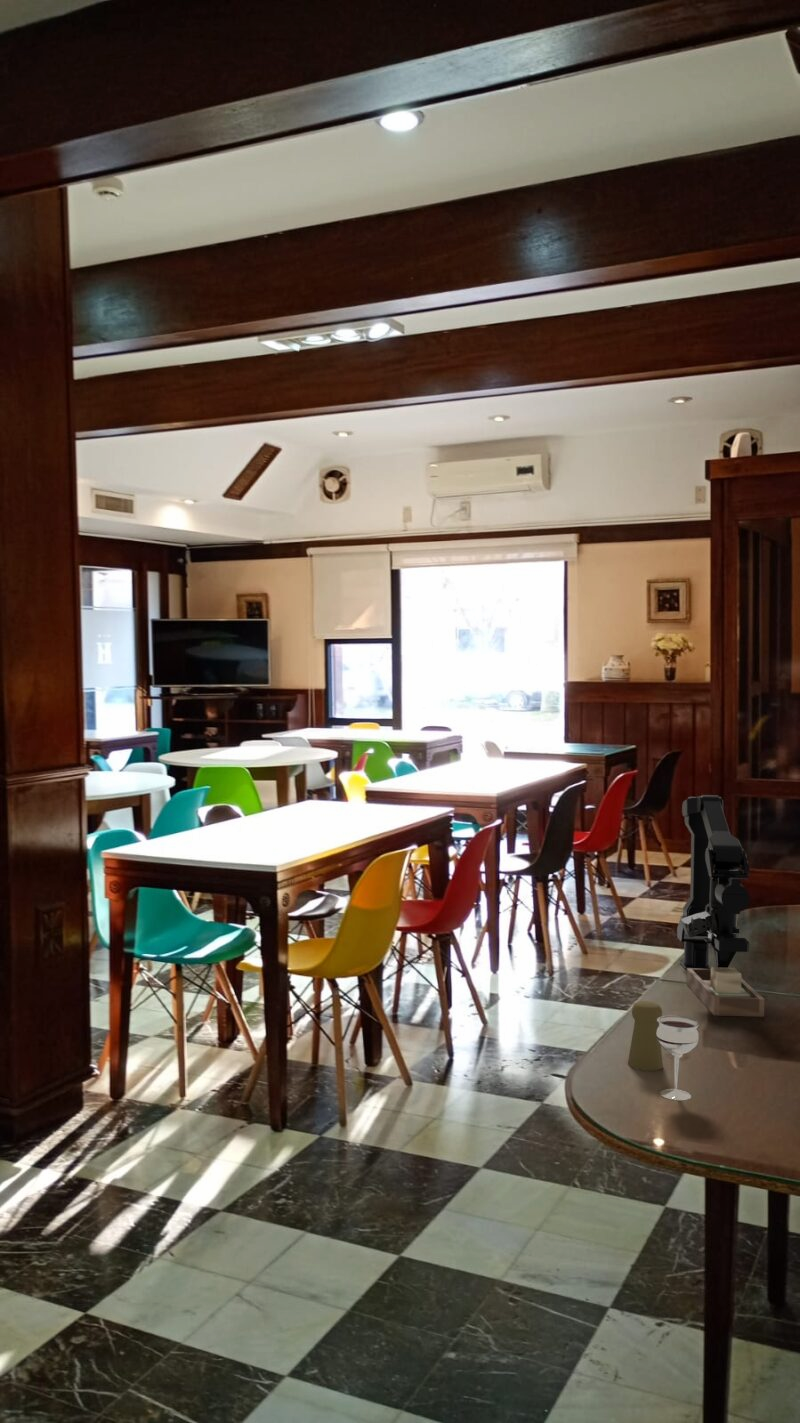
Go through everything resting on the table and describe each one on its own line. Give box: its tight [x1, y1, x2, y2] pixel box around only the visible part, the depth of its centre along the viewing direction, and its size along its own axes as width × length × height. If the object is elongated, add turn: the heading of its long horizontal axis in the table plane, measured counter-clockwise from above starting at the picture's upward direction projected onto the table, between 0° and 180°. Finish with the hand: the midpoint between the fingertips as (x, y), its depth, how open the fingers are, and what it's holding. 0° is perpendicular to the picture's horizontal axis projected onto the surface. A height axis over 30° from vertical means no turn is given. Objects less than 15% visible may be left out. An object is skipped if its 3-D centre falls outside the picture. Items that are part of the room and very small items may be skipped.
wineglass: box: [656, 1015, 700, 1101], centre depth 188 cm, size 7×7×12 cm
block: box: [710, 966, 743, 993], centre depth 242 cm, size 5×5×4 cm
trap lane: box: [685, 968, 765, 1017], centre depth 243 cm, size 23×10×4 cm, turn 0°
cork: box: [627, 1000, 664, 1072], centre depth 202 cm, size 6×6×11 cm
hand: (720, 974), depth 246 cm, fingers closed
